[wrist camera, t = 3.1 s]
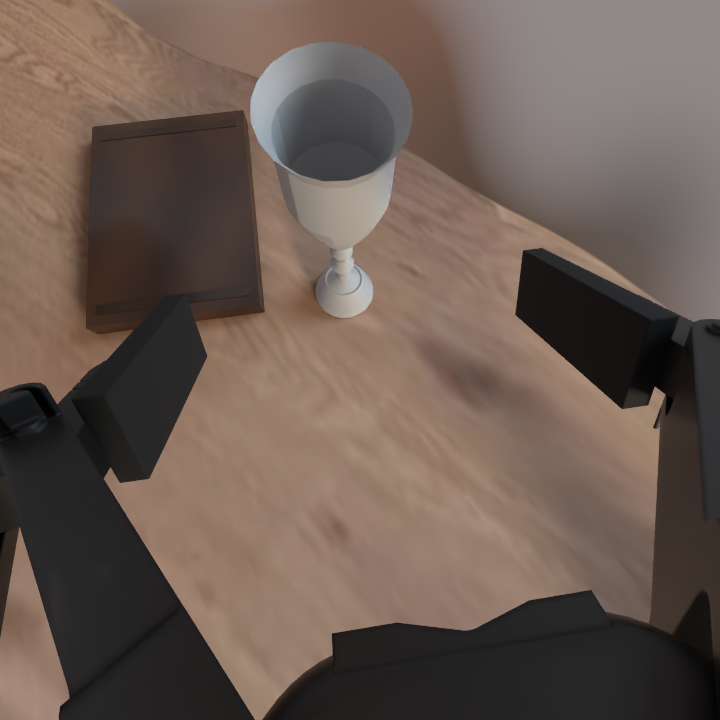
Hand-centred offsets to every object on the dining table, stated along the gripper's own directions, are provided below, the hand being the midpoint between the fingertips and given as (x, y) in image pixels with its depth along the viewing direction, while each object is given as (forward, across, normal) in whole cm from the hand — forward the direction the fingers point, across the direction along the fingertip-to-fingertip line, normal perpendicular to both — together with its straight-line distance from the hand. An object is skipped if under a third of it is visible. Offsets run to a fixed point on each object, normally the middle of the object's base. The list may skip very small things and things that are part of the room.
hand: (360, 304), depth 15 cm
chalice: (+18, 0, -6) cm, 19 cm away
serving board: (+24, -14, 0) cm, 28 cm away
